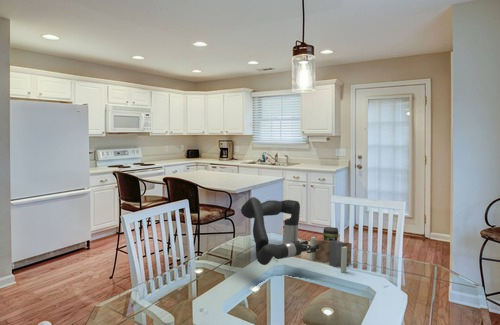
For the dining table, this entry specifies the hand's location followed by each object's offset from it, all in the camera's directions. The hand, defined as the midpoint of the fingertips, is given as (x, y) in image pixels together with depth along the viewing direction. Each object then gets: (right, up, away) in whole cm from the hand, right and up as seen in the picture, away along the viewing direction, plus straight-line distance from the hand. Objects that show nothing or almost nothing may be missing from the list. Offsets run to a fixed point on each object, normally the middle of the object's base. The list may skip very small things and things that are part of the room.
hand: (313, 244), depth 184 cm
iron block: (+15, -15, +10) cm, 23 cm away
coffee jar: (+16, -14, +26) cm, 34 cm away
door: (+14, -13, +14) cm, 24 cm away
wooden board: (+10, -14, +8) cm, 19 cm away
